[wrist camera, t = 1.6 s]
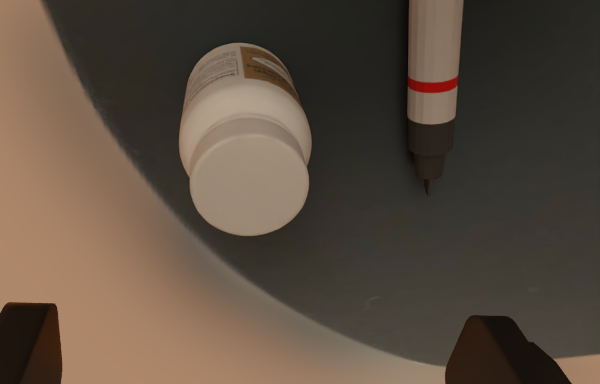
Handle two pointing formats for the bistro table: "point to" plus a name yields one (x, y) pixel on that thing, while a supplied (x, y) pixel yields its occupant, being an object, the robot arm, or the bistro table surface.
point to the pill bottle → (244, 141)
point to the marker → (432, 82)
